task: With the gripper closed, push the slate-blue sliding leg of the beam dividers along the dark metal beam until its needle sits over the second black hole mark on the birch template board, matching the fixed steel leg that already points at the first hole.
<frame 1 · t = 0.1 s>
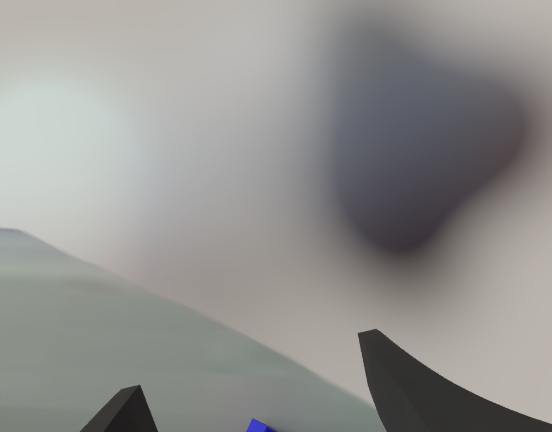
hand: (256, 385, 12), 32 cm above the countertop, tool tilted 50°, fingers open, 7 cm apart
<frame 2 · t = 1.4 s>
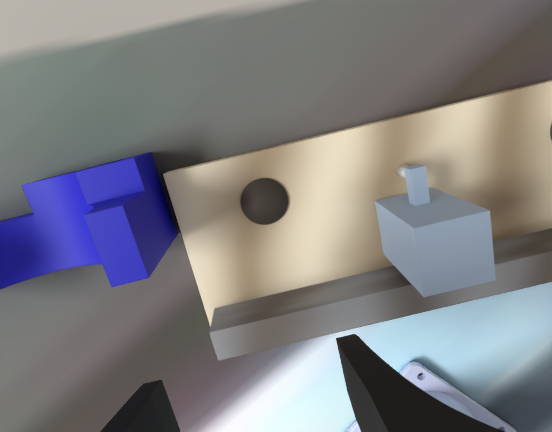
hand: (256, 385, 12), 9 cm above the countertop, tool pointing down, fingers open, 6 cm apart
sliding leg: (425, 218, 17), point 4 cm above the countertop, slide at 0.0 cm
cable clip: (57, 220, 20), on the countertop
template board: (390, 213, 21), on the countertop
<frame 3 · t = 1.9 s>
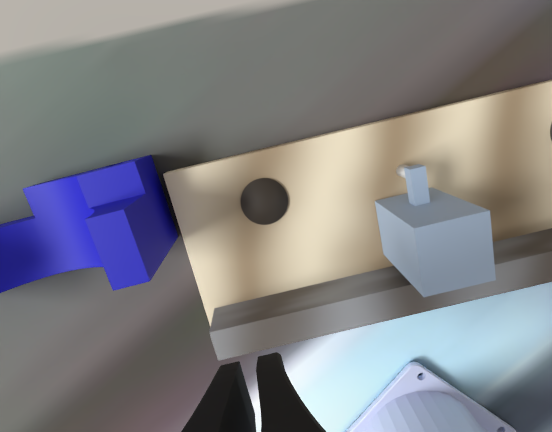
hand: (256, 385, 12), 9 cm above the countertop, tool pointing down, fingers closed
sliding leg: (425, 218, 17), point 4 cm above the countertop, slide at 0.0 cm
cable clip: (58, 223, 20), on the countertop
template board: (390, 213, 21), on the countertop
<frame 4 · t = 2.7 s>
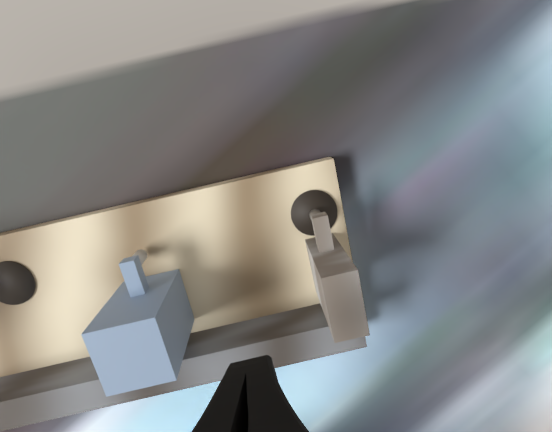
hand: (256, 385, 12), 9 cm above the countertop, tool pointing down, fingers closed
sliding leg: (141, 309, 18), point 4 cm above the countertop, slide at 0.0 cm
template board: (153, 289, 21), on the countertop
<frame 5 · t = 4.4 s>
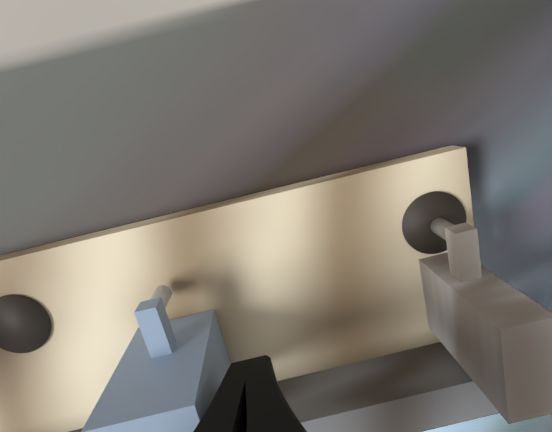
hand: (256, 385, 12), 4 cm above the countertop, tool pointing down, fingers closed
sliding leg: (166, 375, 12), point 4 cm above the countertop, slide at 1.3 cm, touching gripper
template board: (207, 326, 16), on the countertop
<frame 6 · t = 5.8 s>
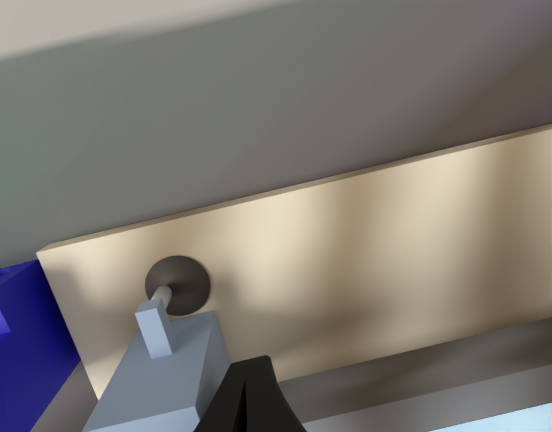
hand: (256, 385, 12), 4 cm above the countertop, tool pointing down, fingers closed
sliding leg: (167, 376, 12), point 4 cm above the countertop, slide at 7.5 cm, touching gripper
template board: (352, 292, 16), on the countertop
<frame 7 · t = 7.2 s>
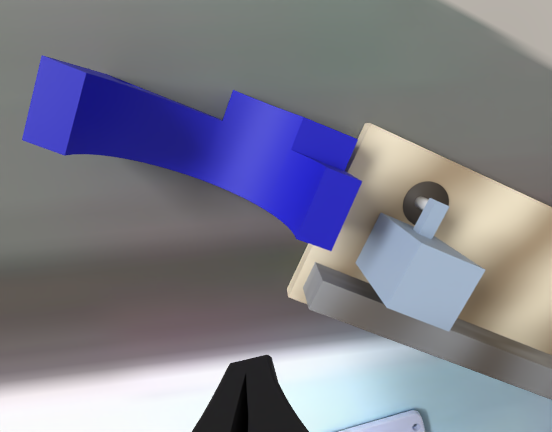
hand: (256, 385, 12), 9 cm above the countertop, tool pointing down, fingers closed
sliding leg: (419, 249, 18), point 4 cm above the countertop, slide at 7.5 cm
cable clip: (220, 134, 20), on the countertop
template board: (493, 280, 22), on the countertop
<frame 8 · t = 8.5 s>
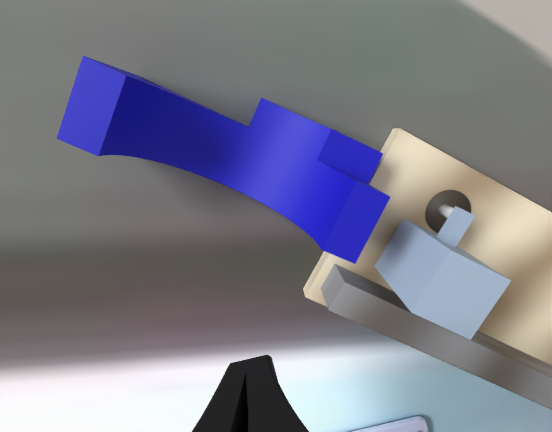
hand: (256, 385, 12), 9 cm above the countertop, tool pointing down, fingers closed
sliding leg: (443, 257, 18), point 4 cm above the countertop, slide at 7.5 cm
cable clip: (243, 140, 20), on the countertop
template board: (506, 292, 23), on the countertop
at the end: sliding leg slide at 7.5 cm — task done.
